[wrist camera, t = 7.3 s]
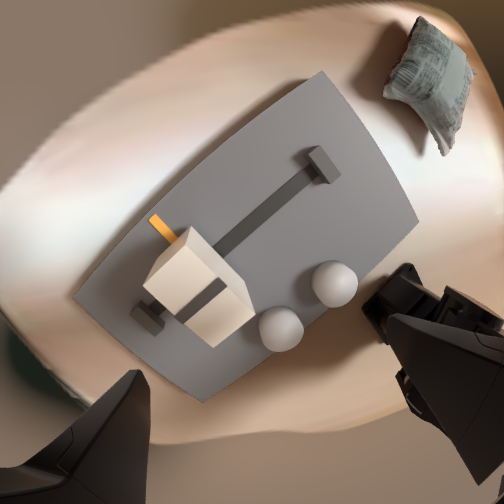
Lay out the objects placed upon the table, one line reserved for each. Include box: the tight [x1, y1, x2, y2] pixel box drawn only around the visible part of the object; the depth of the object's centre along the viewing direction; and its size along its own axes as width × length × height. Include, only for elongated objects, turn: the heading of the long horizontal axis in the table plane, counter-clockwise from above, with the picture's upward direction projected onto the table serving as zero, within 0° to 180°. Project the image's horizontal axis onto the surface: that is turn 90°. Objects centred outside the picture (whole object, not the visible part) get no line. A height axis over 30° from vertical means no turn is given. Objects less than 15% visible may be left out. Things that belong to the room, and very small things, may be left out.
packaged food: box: [383, 16, 477, 156], centre depth 16 cm, size 9×12×5 cm
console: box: [73, 71, 419, 403], centre depth 19 cm, size 24×14×4 cm, turn 131°
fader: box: [143, 226, 256, 348], centre depth 15 cm, size 3×5×5 cm, turn 41°
